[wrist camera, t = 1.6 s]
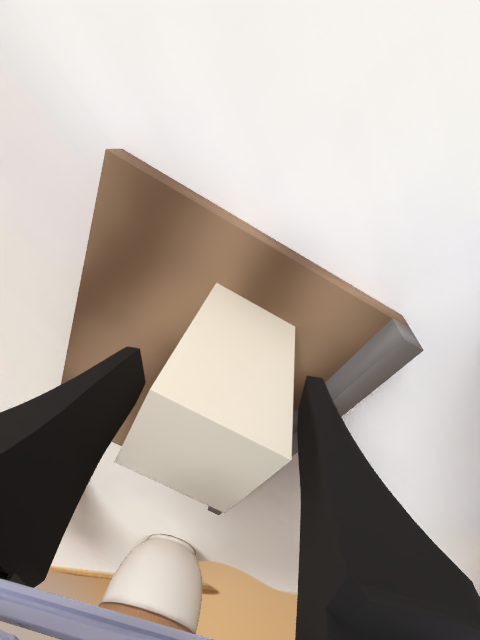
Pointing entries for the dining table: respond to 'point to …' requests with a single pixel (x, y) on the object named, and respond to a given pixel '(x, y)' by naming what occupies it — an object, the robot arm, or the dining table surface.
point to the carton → (219, 405)
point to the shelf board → (198, 281)
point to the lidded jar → (158, 584)
